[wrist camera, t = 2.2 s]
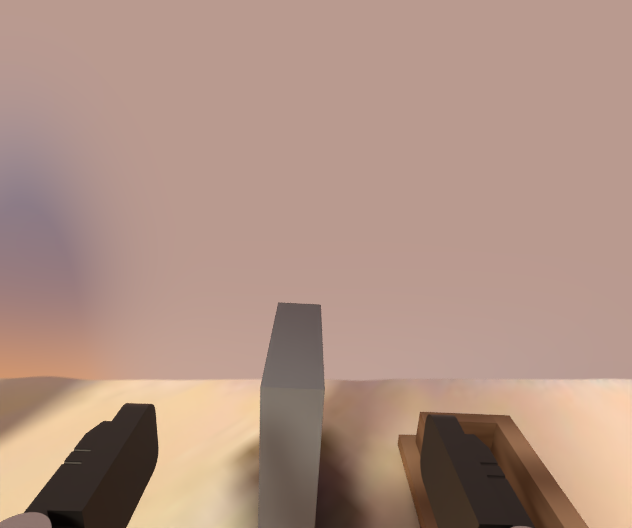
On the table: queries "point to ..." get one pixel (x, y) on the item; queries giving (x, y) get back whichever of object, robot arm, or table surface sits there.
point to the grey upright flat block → (291, 419)
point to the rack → (513, 458)
